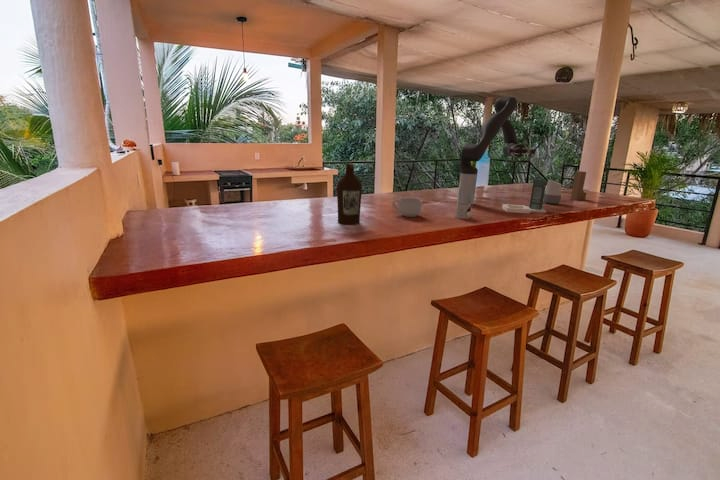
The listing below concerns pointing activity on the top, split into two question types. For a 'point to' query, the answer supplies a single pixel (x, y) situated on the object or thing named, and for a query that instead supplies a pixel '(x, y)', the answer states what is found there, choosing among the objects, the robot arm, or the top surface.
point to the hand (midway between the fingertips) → (524, 151)
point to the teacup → (408, 206)
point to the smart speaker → (552, 192)
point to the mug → (463, 210)
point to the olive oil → (349, 197)
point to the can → (537, 194)
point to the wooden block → (578, 186)
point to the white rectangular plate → (537, 210)
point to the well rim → (516, 208)
